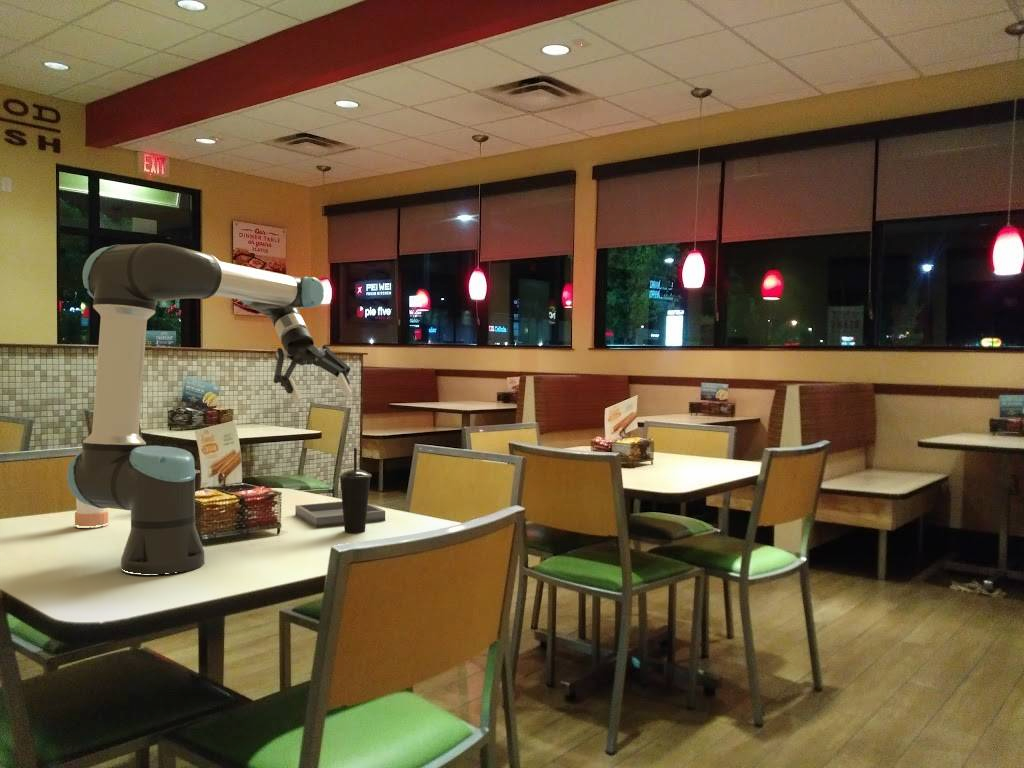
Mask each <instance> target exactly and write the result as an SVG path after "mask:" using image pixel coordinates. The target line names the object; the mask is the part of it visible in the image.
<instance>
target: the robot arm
mask: <svg viewBox="0 0 1024 768" xmlns="http://www.w3.org/2000/svg"><path fill="white" fill-rule="evenodd" d="M82 269H83V270H82V282H83V286H84V289H86V290H87V291H86V292H87V294H88V295H89V296H90V297H91V298H92V299H93V304H92V308H93V309H94V310H95V311H96V312H97V313H98V314H99V316H100V323H99V333H98V334H99V337H98V348H97V349H98V350H97V352H98V353H97V361H96V362H97V363H96V364H97V365H96V377H95V387H94V388H95V389H94V403H93V416H92V429H91V433H90V434H89V436H87V437H86V438H85V439H84V440H83V441H82V449H81V451H80V452H78V453H76V455H75V456H74V459H71V461H70V462H69V465H68V468H67V473H66V478H67V479H66V480H67V484H68V488H69V490H70V492H71V494H72V495H73V496H74V497H75V499H76V498H77V499H78V500H79V501H80V502H82V503H84V504H87V505H91V506H95V507H98V508H107V509H113V510H123V511H130V532H129V534H128V538H127V541H126V543H125V547H124V549H123V552H122V556H121V559H120V569H121V568H122V569H123V570H125V571H128V572H133V573H141V574H165V573H175V572H181V573H184V572H183V571H185V572H189V571H193V570H195V569H199V568H200V567H202V566H203V565H204V564H205V549H204V546H203V543H202V541H201V539H200V535H199V532H198V531H197V528H196V527H197V526H196V509H195V478H196V470H197V469H196V468H195V458H194V455H193V454H192V453H191V452H190V451H188V450H186V449H184V448H180V447H174V446H162V445H147V442H146V441H145V440H144V439H143V438H142V437H141V436H140V423H141V422H140V419H141V405H142V391H143V380H144V379H143V378H144V368H145V367H144V365H145V364H144V363H145V354H146V353H145V351H146V350H145V349H146V336H147V325H148V320H149V319H150V318H151V317H152V316H153V315H155V314H156V310H157V309H156V308H157V302H160V301H161V302H162V301H173V300H180V299H182V300H183V299H200V300H208V299H211V298H213V297H219V298H220V297H221V298H227V299H235V300H239V301H240V302H242V304H243V305H245V306H248V307H250V308H251V309H253V310H255V311H258V312H259V313H261V314H262V315H263V316H266V317H267V318H268V319H270V321H271V323H272V326H273V327H274V330H275V332H276V333H277V335H278V338H279V340H280V341H281V345H282V347H283V348H281V347H278V348H277V350H276V353H275V355H274V356H275V360H276V365H275V369H274V377H273V383H274V384H280V386H281V387H284V389H285V392H286V393H287V394H290V395H291V398H292V400H293V402H294V404H295V406H300V403H301V401H302V398H303V397H302V395H301V393H300V391H299V389H298V387H297V385H296V383H295V381H294V378H293V377H291V376H292V374H293V371H294V370H295V369H296V366H297V365H299V366H305V365H308V366H311V365H314V366H315V367H320V368H321V369H322V370H325V371H326V372H329V374H332V375H333V376H334V377H336V381H337V383H338V386H339V388H340V390H341V392H342V394H343V395H344V398H345V400H350V397H351V395H352V393H353V391H352V389H351V387H350V386H349V385H350V383H351V381H350V380H349V378H348V376H349V373H350V372H351V367H350V366H349V365H348V364H347V363H345V362H344V361H343V360H342V359H341V358H339V356H337V355H336V354H335V353H334V352H332V350H330V348H329V346H328V345H327V344H323V345H322V347H321V346H320V347H317V346H316V345H315V343H314V339H313V337H312V335H311V333H310V331H309V329H308V326H307V325H306V322H305V321H304V319H303V316H302V315H301V313H300V310H299V309H309V308H310V309H311V308H312V309H313V308H318V307H319V306H320V305H321V304H322V302H323V300H324V296H325V295H324V292H325V290H324V286H323V284H322V282H321V281H320V280H319V278H317V277H314V276H312V277H311V276H301V277H300V276H293V275H290V274H289V275H288V274H283V273H280V272H274V271H269V270H264V269H260V268H255V267H250V266H245V265H240V264H235V263H230V262H226V261H225V262H224V261H222V260H221V261H220V260H219V259H218V258H216V256H214V254H210V253H207V252H201V251H197V250H194V249H189V248H186V247H181V246H177V245H172V244H170V243H169V244H168V243H158V242H150V243H141V244H139V243H137V244H136V243H135V244H134V243H132V244H114V245H110V246H104V247H102V248H99V249H96V250H95V251H94V252H92V253H91V254H90V255H89V257H88V258H87V259H86V261H85V263H84V266H83V268H82ZM283 349H284V350H283ZM286 357H287V358H288V359H289V360H290V361H291V362H290V364H289V366H288V367H287V369H286V372H285V373H284V375H282V373H283V372H282V371H283V365H284V360H285V359H286ZM316 359H317V360H316ZM175 574H176V573H175Z"/></svg>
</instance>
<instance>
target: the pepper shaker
mask: <svg viewBox="0 0 1024 768" xmlns="http://www.w3.org/2000/svg"><path fill="white" fill-rule="evenodd" d="M75 499H76V502H75V503H76V506H75V507H76V511H75V513H74V526H75V525H79V526H96V525H103V524H106V523H108V524H109V510H108V508H98V507H95V506H91V505H87V504H84V503H82V502H80V501H79V500H78V499H77V498H76V497H75Z"/></svg>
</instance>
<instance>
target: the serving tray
mask: <svg viewBox="0 0 1024 768" xmlns="http://www.w3.org/2000/svg"><path fill="white" fill-rule="evenodd" d="M295 516H297V517H298V518H300V519H301V520H303V521H304V522H306V523H308V524H309V525H311V526H313V527H314V528H315V529H318V528H319V529H320V528H328V527H337V526H344V517H343V505H342V500H340V501H332V502H322V503H320V502H319V503H308V504H298V505H297V504H295ZM382 521H383V522H384V521H386V510H384V509H382V508H381V507H378V506H376V505H373V504H371V503H369V502H368V505H367V516H366V523H375V522H382Z"/></svg>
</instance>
